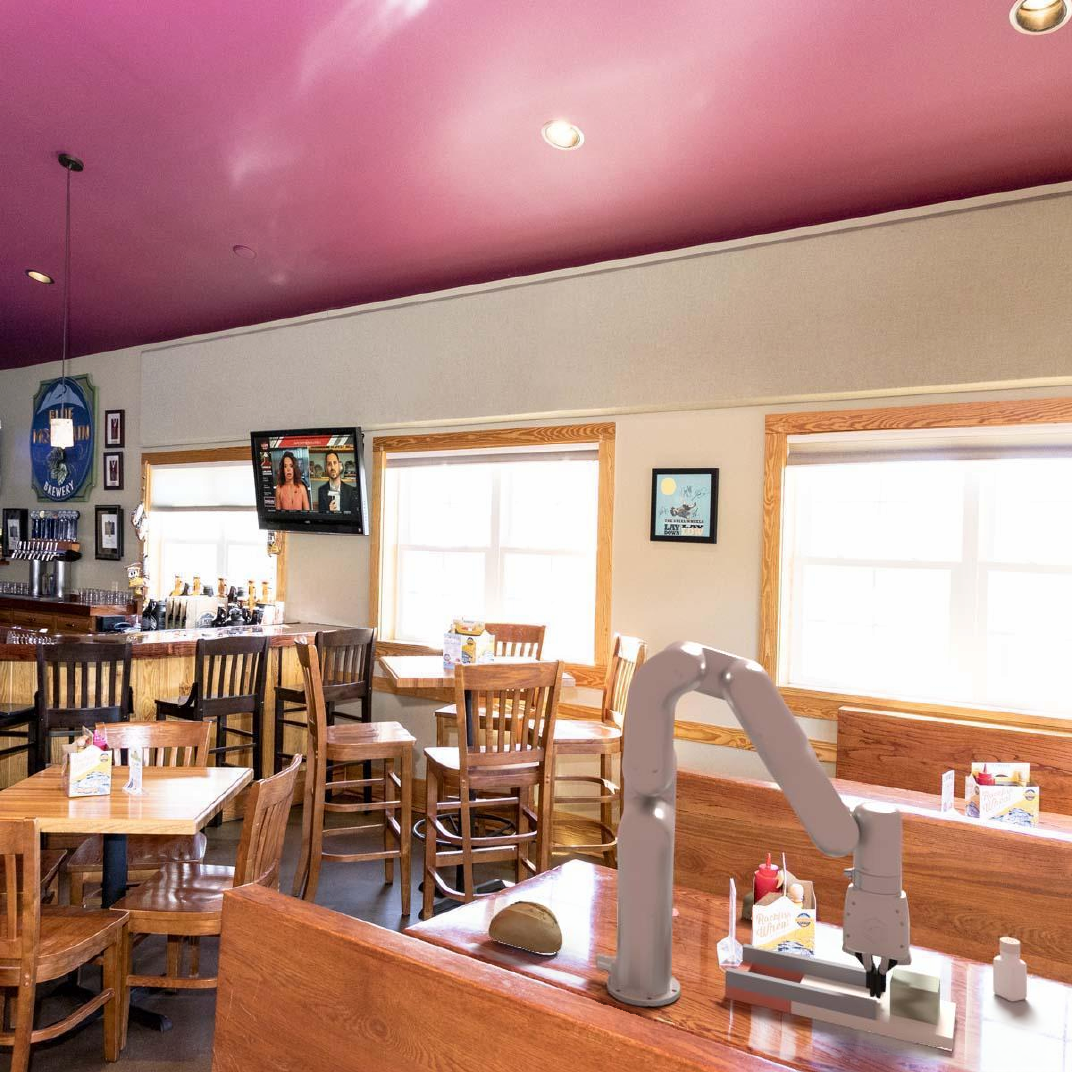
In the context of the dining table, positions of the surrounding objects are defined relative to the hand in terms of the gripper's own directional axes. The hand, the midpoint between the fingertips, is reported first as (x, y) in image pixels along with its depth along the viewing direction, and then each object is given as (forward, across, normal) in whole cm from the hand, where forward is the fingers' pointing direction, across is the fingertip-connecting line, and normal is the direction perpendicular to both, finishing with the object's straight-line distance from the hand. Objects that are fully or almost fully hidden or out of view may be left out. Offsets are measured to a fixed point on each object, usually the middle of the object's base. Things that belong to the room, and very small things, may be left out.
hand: (876, 994), depth 148 cm
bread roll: (+4, -62, -5) cm, 63 cm away
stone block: (+4, -24, +32) cm, 40 cm away
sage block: (+1, +6, 0) cm, 6 cm away
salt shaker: (+4, +20, +19) cm, 28 cm away
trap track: (+3, -6, 0) cm, 7 cm away
